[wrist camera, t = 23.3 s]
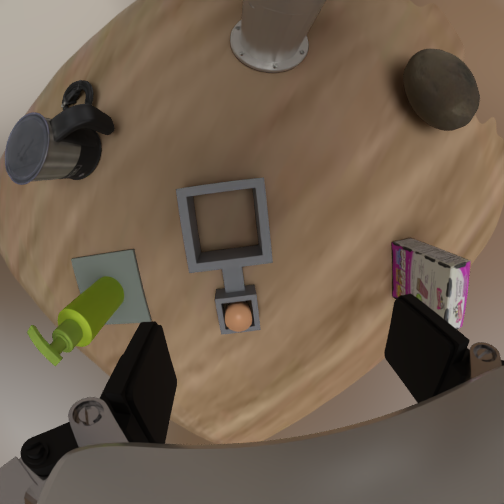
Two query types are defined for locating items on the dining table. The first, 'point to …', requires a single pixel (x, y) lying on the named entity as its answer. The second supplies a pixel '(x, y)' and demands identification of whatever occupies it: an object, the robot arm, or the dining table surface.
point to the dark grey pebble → (441, 89)
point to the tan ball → (238, 316)
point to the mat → (124, 272)
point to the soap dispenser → (81, 319)
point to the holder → (227, 258)
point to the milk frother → (58, 141)
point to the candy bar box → (431, 278)
